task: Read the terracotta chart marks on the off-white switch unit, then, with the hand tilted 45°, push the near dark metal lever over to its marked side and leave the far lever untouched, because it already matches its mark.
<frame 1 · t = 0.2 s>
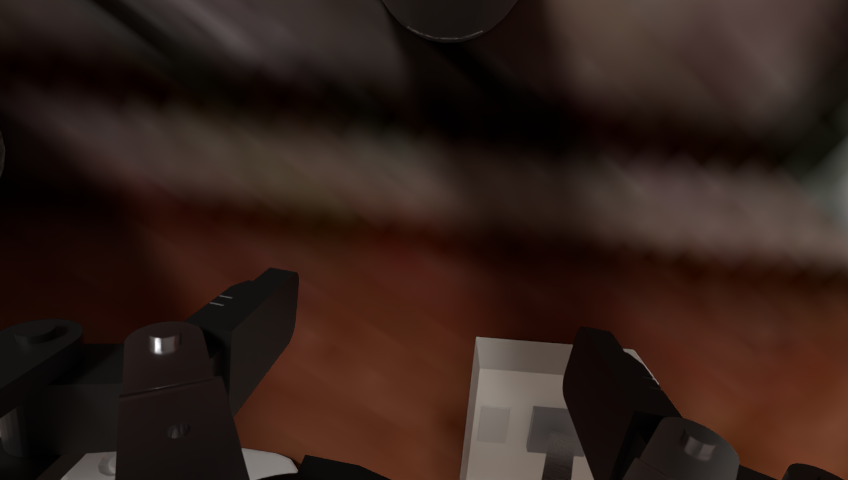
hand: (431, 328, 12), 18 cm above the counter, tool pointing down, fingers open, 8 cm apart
switch unit: (533, 455, 36), on the counter
rounded white slab: (151, 453, 38), on the counter
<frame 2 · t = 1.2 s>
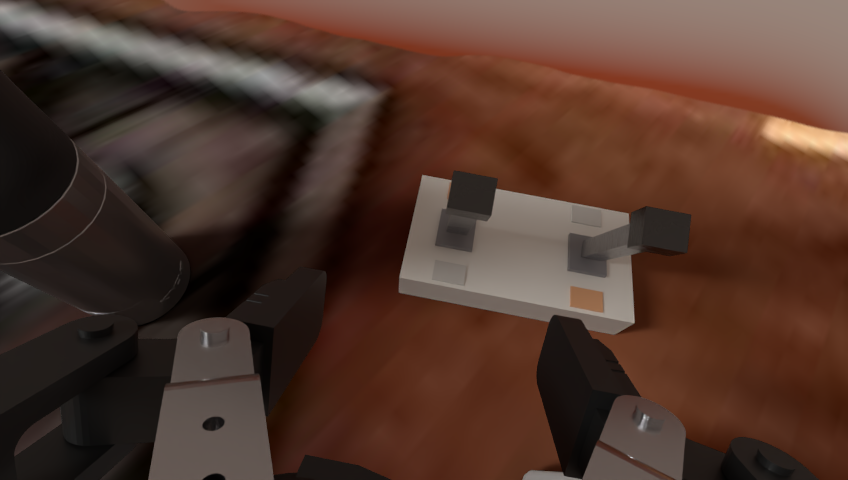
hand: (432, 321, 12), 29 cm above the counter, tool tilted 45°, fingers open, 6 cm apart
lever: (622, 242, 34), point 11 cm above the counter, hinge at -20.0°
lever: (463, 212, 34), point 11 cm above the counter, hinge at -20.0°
switch unit: (510, 260, 45), on the counter
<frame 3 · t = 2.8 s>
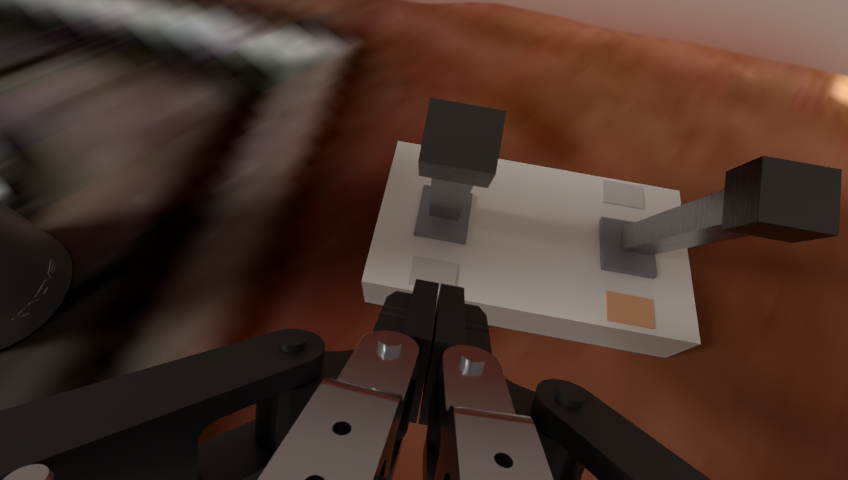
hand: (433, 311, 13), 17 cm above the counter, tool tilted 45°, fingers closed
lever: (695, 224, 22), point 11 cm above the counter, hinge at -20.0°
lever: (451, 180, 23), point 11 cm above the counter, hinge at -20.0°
switch unit: (519, 256, 33), on the counter
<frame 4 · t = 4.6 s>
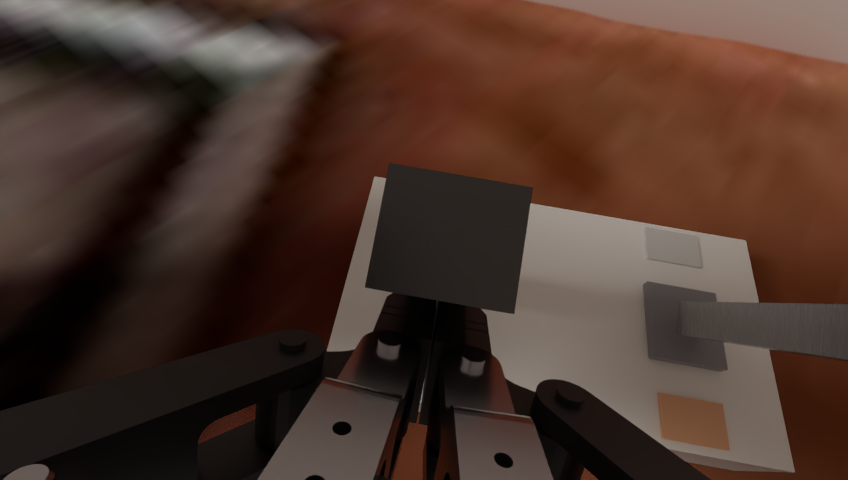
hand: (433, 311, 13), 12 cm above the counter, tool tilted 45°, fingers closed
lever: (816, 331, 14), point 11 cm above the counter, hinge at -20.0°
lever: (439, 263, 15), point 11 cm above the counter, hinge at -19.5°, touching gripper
switch unit: (533, 325, 26), on the counter
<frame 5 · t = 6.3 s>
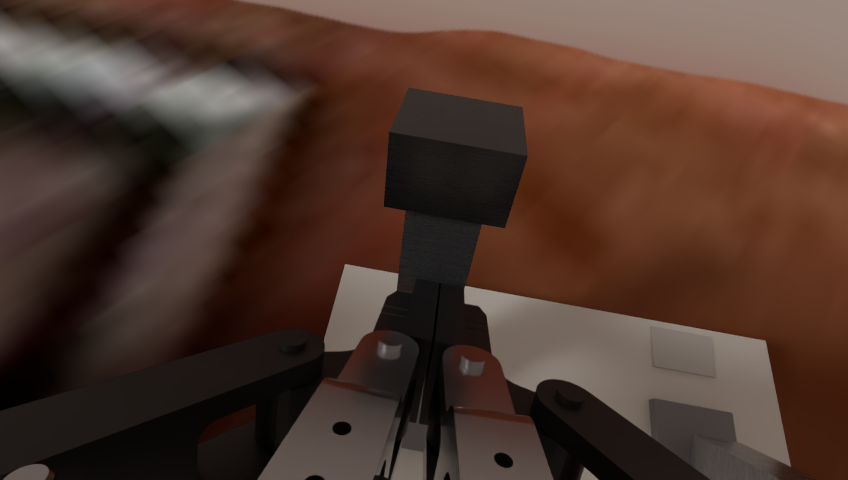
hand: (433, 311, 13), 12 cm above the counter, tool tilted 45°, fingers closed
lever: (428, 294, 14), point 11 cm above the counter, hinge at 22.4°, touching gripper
switch unit: (525, 430, 23), on the counter
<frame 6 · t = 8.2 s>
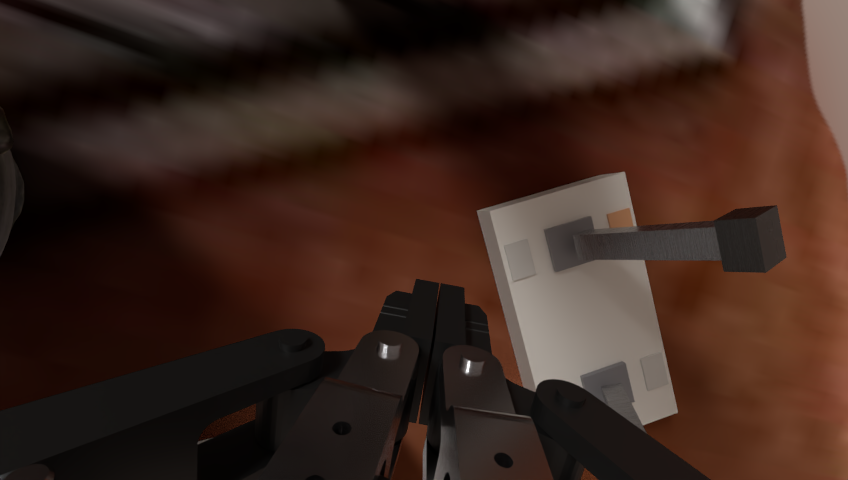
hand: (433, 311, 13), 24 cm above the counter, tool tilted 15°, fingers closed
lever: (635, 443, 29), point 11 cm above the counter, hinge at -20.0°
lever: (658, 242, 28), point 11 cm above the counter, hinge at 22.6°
switch unit: (566, 306, 40), on the counter
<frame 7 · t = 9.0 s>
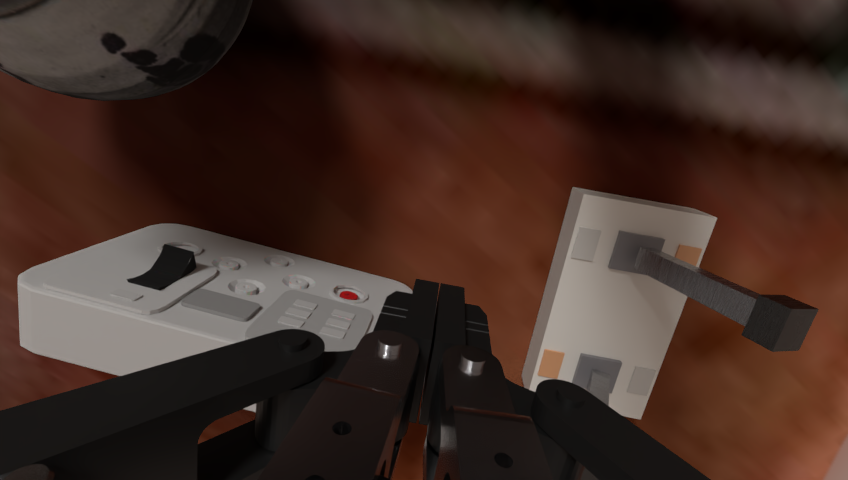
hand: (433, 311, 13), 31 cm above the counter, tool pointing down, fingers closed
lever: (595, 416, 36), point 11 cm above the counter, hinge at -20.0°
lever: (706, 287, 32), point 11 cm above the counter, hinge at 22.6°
switch unit: (601, 298, 45), on the counter
rounded white slab: (288, 273, 47), on the counter
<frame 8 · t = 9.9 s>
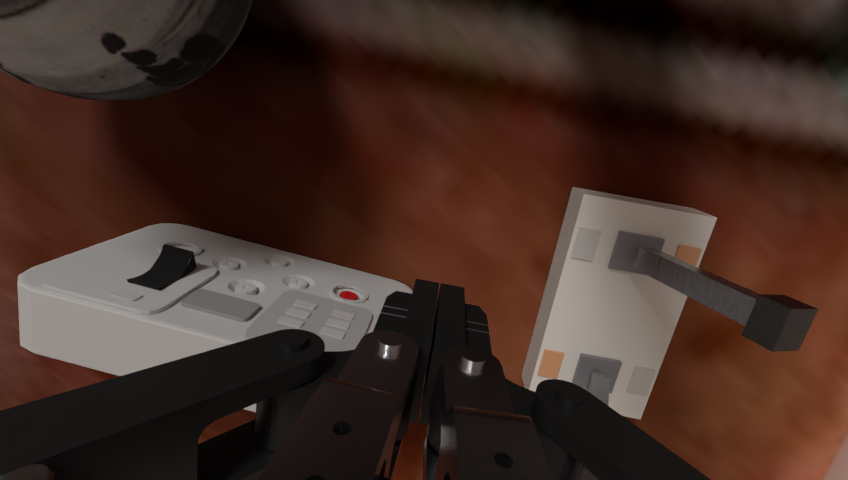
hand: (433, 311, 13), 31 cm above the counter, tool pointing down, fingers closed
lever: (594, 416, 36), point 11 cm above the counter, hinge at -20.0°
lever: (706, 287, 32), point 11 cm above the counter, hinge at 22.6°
switch unit: (601, 298, 45), on the counter
rounded white slab: (288, 273, 47), on the counter
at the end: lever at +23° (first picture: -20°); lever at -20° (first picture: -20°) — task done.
